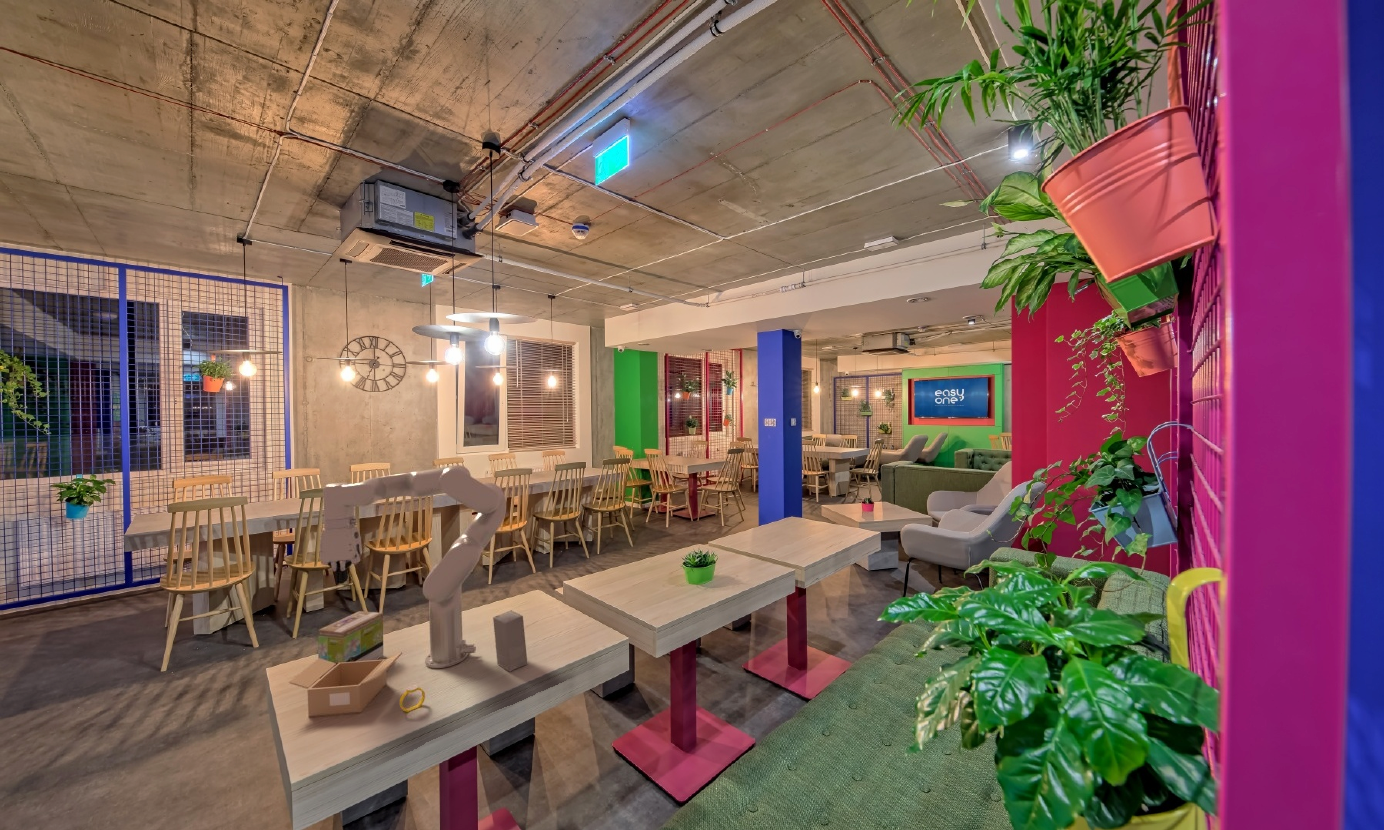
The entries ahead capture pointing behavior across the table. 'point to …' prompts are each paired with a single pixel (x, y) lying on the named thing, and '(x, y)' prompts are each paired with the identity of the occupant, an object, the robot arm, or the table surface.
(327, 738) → the table surface
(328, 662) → the flap
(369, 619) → the tea box
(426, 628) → the table surface
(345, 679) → the carton
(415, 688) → the watch
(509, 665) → the skincare box
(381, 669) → the flap
